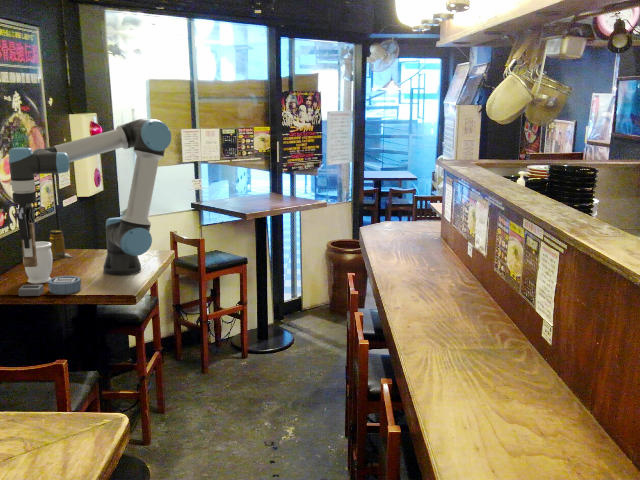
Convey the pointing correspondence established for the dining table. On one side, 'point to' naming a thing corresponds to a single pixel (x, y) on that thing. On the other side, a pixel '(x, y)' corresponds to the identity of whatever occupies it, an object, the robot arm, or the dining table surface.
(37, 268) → the jar
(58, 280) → the candle dish
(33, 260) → the brown long rectangular bar
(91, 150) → the robot arm
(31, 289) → the grey slotted block
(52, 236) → the condiment
